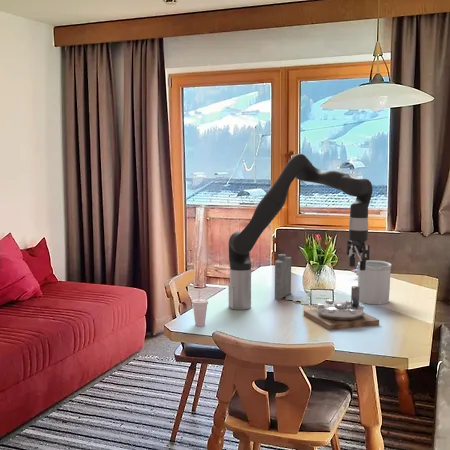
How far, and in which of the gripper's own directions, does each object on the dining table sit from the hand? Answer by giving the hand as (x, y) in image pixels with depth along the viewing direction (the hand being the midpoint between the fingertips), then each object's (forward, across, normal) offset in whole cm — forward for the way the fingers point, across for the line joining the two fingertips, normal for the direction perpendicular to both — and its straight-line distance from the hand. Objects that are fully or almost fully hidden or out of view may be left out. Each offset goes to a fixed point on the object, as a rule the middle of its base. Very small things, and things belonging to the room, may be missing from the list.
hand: (357, 268), depth 234 cm
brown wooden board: (+21, 0, +7) cm, 22 cm away
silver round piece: (+19, 0, +7) cm, 20 cm away
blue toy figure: (+21, +70, -42) cm, 84 cm away
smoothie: (+22, +9, +63) cm, 67 cm away
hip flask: (+21, +45, +14) cm, 52 cm away
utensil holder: (+21, +24, -22) cm, 39 cm away
